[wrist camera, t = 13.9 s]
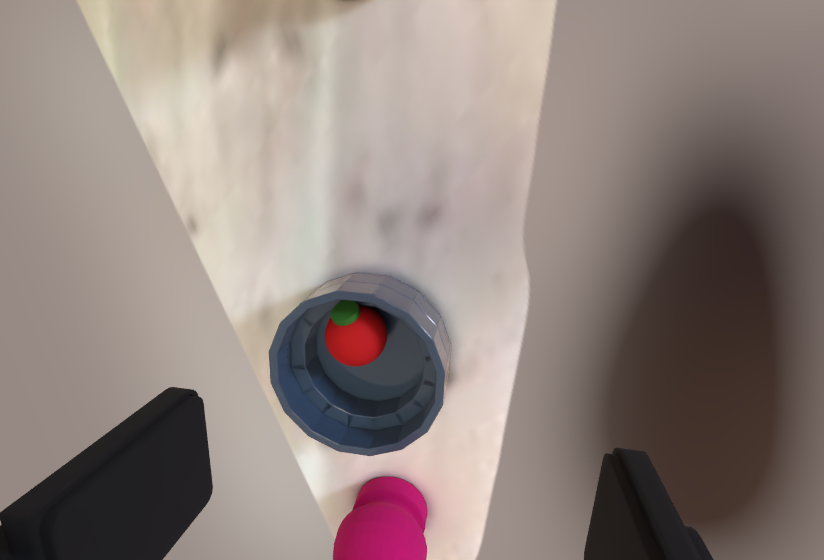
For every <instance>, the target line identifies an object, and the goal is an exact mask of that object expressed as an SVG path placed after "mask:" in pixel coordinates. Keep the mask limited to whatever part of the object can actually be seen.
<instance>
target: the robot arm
mask: <svg viewBox="0 0 824 560" xmlns="http://www.w3.org/2000/svg"><path fill="white" fill-rule="evenodd" d="M212 489H213V485H212V476H211V468H210V457H209V448H208V440H207V430H206V421H205V413H204V403H203V400H202V398H201V397H198V394H197V392H196V391H194V390H191V389H184V388H176V387H170V388H168V389H166V390H165V391H163V392H162V393H161V394H159V395H158V396H157V397H155V398H154V399H153V400H151V401H150V402H148V403H147V404H146V405H145V406H143V407H142V408H140V409H139V410H138V411H136V412H135V413H134V414H132V415H131V416H130V417H128V418H127V419H126V420H124V421H123V422H122V423H120V424H119V425H118V426H116V427H115V428H114V429H112V430H111V431H109V432H108V433H107V434H105V435H104V436H103V437H101V438H100V439H99V440H97V441H96V442H95V443H93V444H92V445H91V446H89V447H88V448H87V449H85V450H84V451H82V452H81V453H80V454H78V455H77V456H76V457H74V458H73V459H72V460H70V461H69V462H68V463H66V464H65V465H64V466H62V467H61V468H60V469H58V470H57V471H55V472H54V473H53V474H51V475H50V476H49V477H47V478H46V479H45V480H43V481H42V482H41V483H40V484H38V485H37V486H35V487H34V488H33V489H31V490H30V491H29V492H28V493H26V494H25V495H23V496H22V497H21V498H19V499H18V500H17V501H15V502H14V503H12V504H11V505H10V506H8V507H7V508H6V509H4V510H3V511H2V512H0V521H1V524H2V525H1V526H0V560H163V558H164V557H165V556H166V554H167V553H168V552H169V551H170V550H171V548H172V547H173V546H174V544H175V543H176V542H177V541H178V540H179V538H180V537H181V536H182V534H183V533H184V532H185V530H186V529H187V528H188V527H189V526H190V524H191V523H192V522H193V521H194V519H195V518H196V517H197V516H198V514H199V513H200V512H201V511H202V509H203V508H204V507H205V506H206V504H207V503H208V501H209V499H210V497H211V494H212ZM584 560H713V558H712V556H711V555H710V553H709V551H708V549H707V547H706V545H705V544H704V542H703V540H702V538H701V537H700V535H699V534H698V532H697V531H696V530H694V529H693V528H692V527H687V526H684V524H683V522H682V520H681V518H680V516H679V514H678V512H677V511H676V509H675V507H674V505H673V503H672V501H671V499H670V497H669V495H668V493H667V491H666V489H665V487H664V485H663V484H662V482H661V480H660V478H659V476H658V474H657V472H656V470H655V468H654V466H653V464H652V462H651V461H650V459H649V457H648V455H647V454H646V452H644V451H637V450H630V449H623V448H615V449H614V451H613V453H612V454H607V453H606V454H605V455H604V457H603V462H602V466H601V472H600V476H599V482H598V486H597V491H596V496H595V501H594V506H593V511H592V516H591V521H590V526H589V531H588V536H587V541H586V546H585V551H584Z"/></svg>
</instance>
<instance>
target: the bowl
mask: <svg viewBox="0 0 824 560" xmlns="http://www.w3.org/2000/svg"><path fill="white" fill-rule="evenodd" d="M345 300H350V301H355V302H356V303H357V304H358V305H364V306H369V307H371V308H373V309H374V310H376V311H377V312H378V313H379V314H380V315H381V317H382V318H383V320H384V322H385V324H386V328H387V342H386V345H385V348H384V350H383V351H382V353H381V354H380V356H379V357H378V358H376V359H375V360H374V361H372V362H371V363H369V364H366V365H363V366H357V367H356V366H348V365H345V364H342V363H340V362H339V361H337V360H336V359H335V358H334V357H333V356H332V355H331V354H330V352H329V351H328V348H327V346H326V342H325V329H326V325H327V323H328V321H329V319H330V318H331V316H330V313H331V310H332V309H333V307H334V306H335V305H337V304H338V303H340V302H342V301H345ZM450 350H451V345H450V341H449V338H448V335H447V333H446V330H445V327H444V324H443V321H442V319H441V316H440V315H439V313H438V312H437V311H436V310H435V309H434V308H433V307H432V306H431V304H430V303H429V302H428V301H427V300H426V299H425V298H424V297H423V296H422V295H421V293H420V292H419V291H418V290H416V289H414V288H412V287H410V286H408V285H406V284H404V283H402V282H400V281H398V280H396V279H394V278H392V277H390V276H386V275H375V274H363V273H353V274H350V275H347V276H344V277H341V278H338V279H335V280H332V281H329V282H327V283H325V284H324V285H323V286H321V287H320V288H319V289H318V290H316V291H315V292H314V293H313V294H312V295H310V296H309V297H308V298H307V299H305V300H304V301H303V302H302V303H301V304H300V305H299V306H298V307H296V308H295V309H294V310H293V311H292V312H291V313H290V314H289V315H288V316H287V317H286V318H285V319H283V320H282V321H281V323H280V324H279V327H278V329H277V332H276V335H275V337H274V340H273V342H272V345H271V347H270V350H269V362H270V379H271V384H272V387H273V389H274V391H275V393H276V395H277V397H278V399H279V402H280V404H281V406H282V408H283V410H284V412H285V413H286V414H287V415H288V416H289V417H290V418H291V419H292V420H293V421H294V422H295V423H296V424H297V425H298V426H299V427H300V428H301V429H302V430H303V431H304V432H305V433H306V434H307V435H308V436H309V437H311V438H313V439H315V440H317V441H319V442H321V443H323V444H325V445H327V446H329V447H331V448H333V449H334V450H336V451H340V452H346V453H353V454H359V455H366V456H373V455H378V454H383V453H388V452H393V451H398V450H401V449H404V448H405V447H406V446H408V445H409V444H411V443H412V442H414V441H415V440H417V439H418V438H420V437H421V436H422V435H424V434H425V433H427V432H428V430H429V429H430V427H431V425H432V423H433V422H434V420H435V418H436V417H437V415H438V413H439V411H440V410H441V408H442V406H443V403H444V397H445V392H446V386H447V380H448V375H449V364H450Z"/></svg>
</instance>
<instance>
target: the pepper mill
mask: <svg viewBox="0 0 824 560" xmlns="http://www.w3.org/2000/svg"><path fill="white" fill-rule="evenodd" d="M426 518H427V506H426V502H425V500H424V498H423V496H422V495H421V493H420V492H419V491H418V490H417V489H416V488H415V487H414V486H413V485H412V484H410V483H408V482H406V481H404V480H402V479H399V478H395V477H379V478H376V479H373V480H371V481H369V482H368V483H366V484H365V485H364V486H363V487H362V488H361V490H360V492H359V494H358V496H357V499H356V502H355V504H354V507H353V511H352V512H350V513H349V514H348V515H347V516H346V517H345V518H344V520H343V521H342V523H341V525H340V527H339V529H338V532H337V536H336V539H335V543H334V551H333V560H426V556H427V546H426V541H425V537H424V534H423V533H424V530H425V524H426Z"/></svg>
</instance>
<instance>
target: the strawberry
mask: <svg viewBox="0 0 824 560" xmlns="http://www.w3.org/2000/svg"><path fill="white" fill-rule="evenodd" d="M330 316H331V318H330V319H329V321H328V323H327V325H326V329H325V342H326V346H327V348H328V351H329V352H330V354H331V355H332V356H333V357H334V358H335V359H336V360H337V361H339V362H340V363H342V364H345V365H348V366H356V367H357V366H363V365H366V364H369V363H371V362H372V361H374V360H375V359H376V358H378V357H379V356H380V354H381V353H382V351H383V350H384V348H385V345H386V342H387V328H386V324H385V322H384V320H383V318H382V317H381V315H380V314H379V313H378V312H377V311H376V310H374V309H373V308H371V307H369V306H364V305H358V304H357V303H356V302H355V301H350V300H345V301H342V302H340V303H338V304H337V305H335V306H334V307H333V309H332V310H331V313H330Z"/></svg>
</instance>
